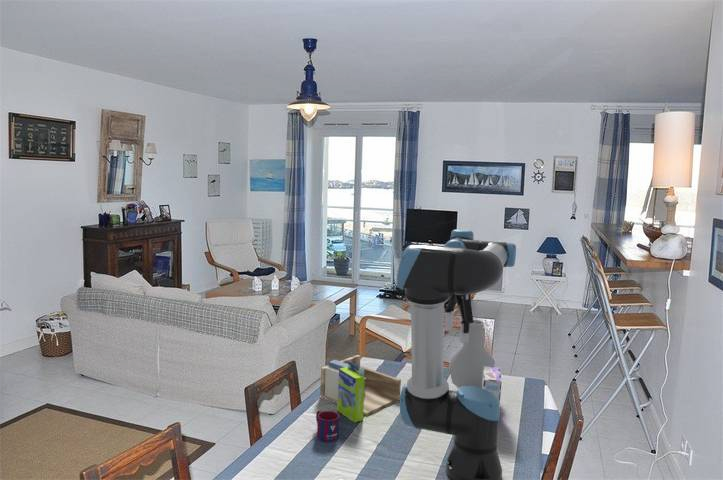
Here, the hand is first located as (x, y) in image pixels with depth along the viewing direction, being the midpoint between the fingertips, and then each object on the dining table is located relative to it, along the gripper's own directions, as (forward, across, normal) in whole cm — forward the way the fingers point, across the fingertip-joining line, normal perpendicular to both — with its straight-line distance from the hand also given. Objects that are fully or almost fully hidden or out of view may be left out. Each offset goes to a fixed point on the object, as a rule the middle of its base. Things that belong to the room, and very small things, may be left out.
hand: (456, 336), depth 191 cm
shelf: (+26, +14, +29) cm, 42 cm away
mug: (+27, -11, +46) cm, 55 cm away
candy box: (+27, -9, -10) cm, 30 cm away
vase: (+26, +11, -12) cm, 31 cm away
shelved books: (+25, +14, +38) cm, 48 cm away
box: (+27, 0, +36) cm, 45 cm away
